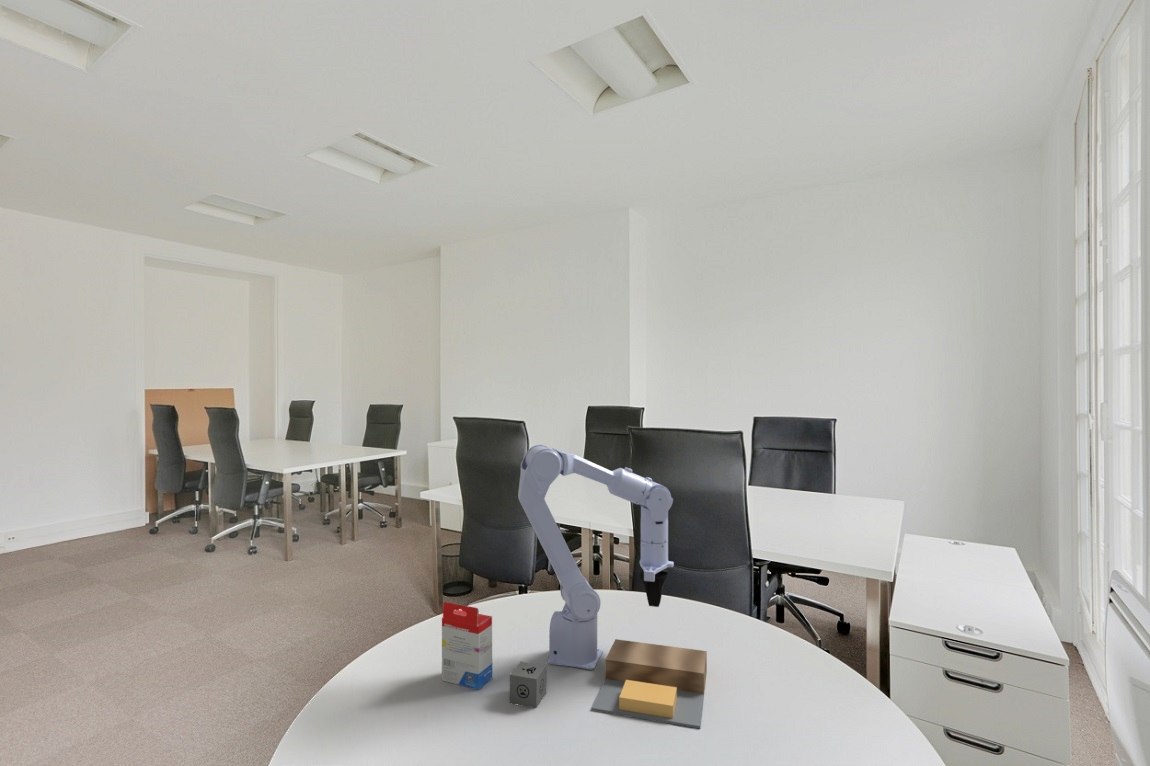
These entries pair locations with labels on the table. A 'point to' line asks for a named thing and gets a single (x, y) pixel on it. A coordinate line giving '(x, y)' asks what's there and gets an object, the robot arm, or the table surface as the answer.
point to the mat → (684, 714)
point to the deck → (657, 665)
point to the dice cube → (528, 684)
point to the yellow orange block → (648, 698)
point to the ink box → (466, 646)
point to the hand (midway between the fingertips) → (654, 605)
